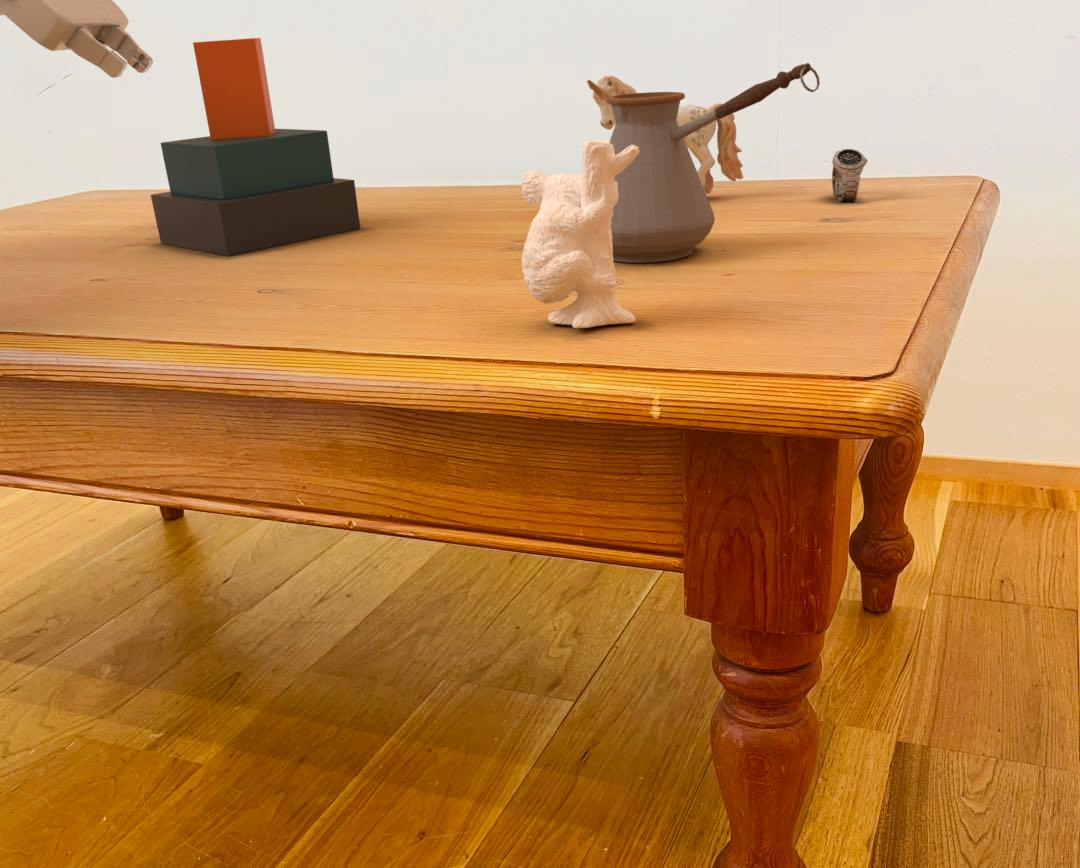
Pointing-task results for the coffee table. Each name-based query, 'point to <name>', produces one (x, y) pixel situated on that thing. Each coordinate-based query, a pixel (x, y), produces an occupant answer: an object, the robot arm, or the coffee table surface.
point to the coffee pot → (668, 172)
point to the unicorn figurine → (693, 141)
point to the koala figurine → (576, 238)
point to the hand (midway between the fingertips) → (135, 69)
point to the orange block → (234, 88)
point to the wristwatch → (847, 174)
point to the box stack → (252, 193)
